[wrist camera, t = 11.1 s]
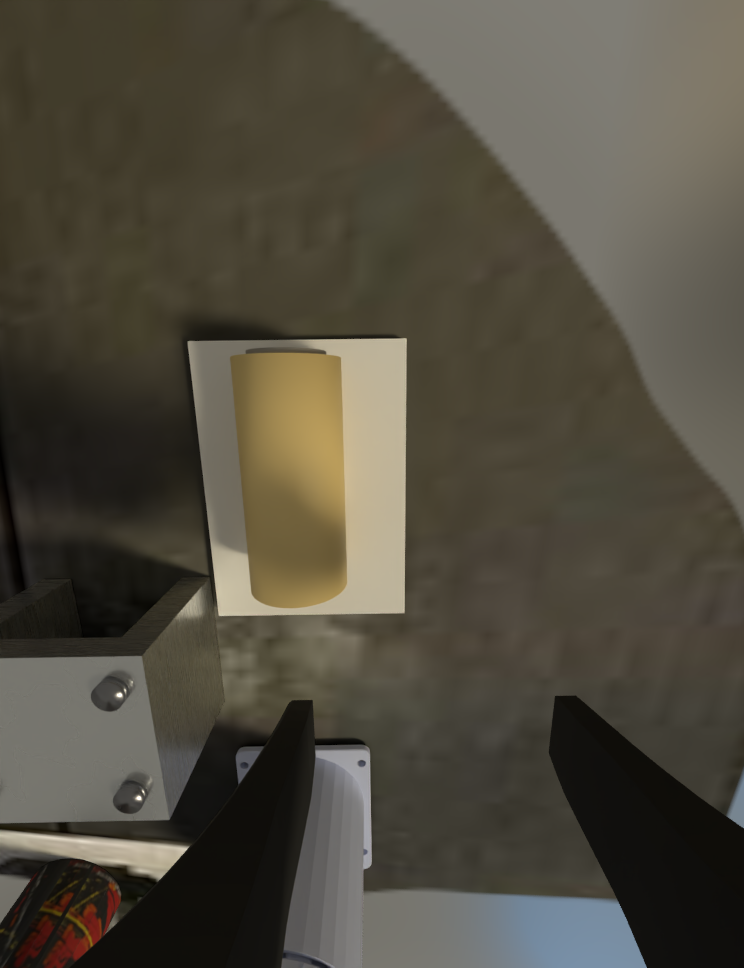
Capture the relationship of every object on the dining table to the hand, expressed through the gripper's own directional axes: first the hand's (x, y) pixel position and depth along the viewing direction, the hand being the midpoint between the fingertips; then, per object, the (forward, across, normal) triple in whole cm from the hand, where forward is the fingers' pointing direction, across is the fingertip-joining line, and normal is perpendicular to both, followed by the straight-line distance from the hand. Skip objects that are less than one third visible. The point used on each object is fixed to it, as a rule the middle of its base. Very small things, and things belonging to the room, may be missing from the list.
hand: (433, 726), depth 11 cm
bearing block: (+10, +15, +4) cm, 18 cm away
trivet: (+10, +5, -5) cm, 12 cm away
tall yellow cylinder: (+9, +5, -6) cm, 12 cm away
